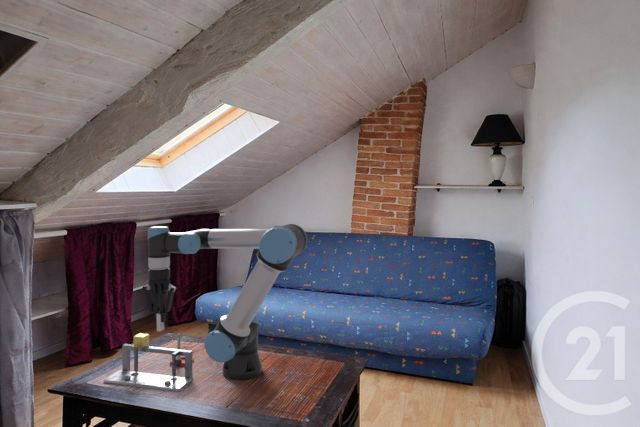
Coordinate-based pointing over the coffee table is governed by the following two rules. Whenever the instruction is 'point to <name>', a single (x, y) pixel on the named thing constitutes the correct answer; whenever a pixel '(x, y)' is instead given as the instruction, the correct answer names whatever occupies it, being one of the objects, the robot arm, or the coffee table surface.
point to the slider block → (139, 342)
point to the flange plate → (148, 380)
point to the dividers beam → (173, 352)
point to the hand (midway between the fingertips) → (160, 330)
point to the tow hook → (179, 358)
